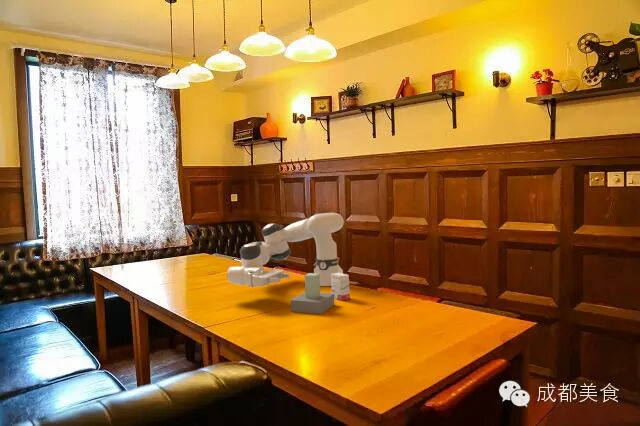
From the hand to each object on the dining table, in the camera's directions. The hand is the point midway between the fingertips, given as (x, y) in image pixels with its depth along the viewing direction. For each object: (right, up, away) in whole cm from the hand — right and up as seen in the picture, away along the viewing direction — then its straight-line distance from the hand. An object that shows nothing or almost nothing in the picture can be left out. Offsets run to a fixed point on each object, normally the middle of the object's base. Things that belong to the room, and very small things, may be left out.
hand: (284, 278), depth 202 cm
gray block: (+13, -12, -5) cm, 19 cm away
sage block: (+13, -7, -5) cm, 16 cm away
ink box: (+26, -11, +11) cm, 30 cm away
